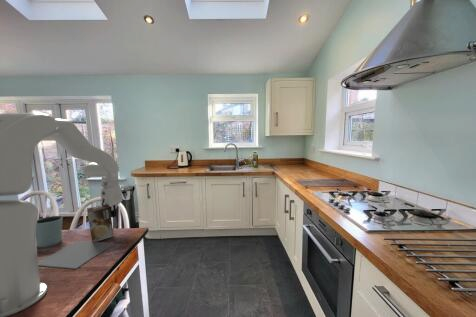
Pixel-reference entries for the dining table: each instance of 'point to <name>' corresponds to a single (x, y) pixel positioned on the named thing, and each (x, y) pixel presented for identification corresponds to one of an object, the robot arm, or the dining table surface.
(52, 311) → the dining table surface
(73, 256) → the mat
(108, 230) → the coffee box
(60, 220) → the teal planter pot
